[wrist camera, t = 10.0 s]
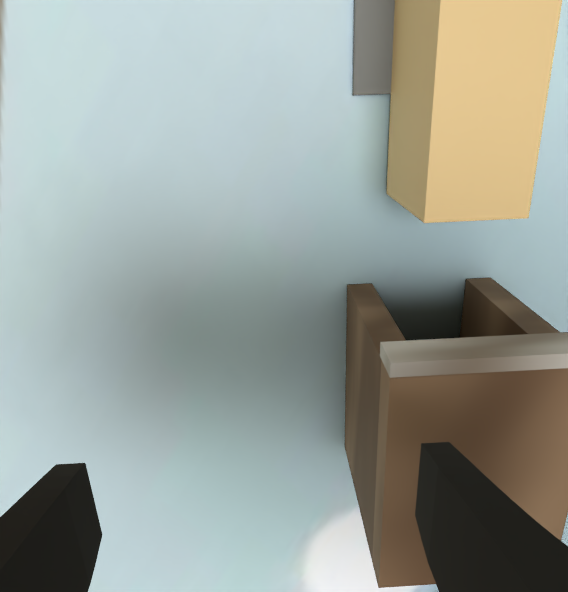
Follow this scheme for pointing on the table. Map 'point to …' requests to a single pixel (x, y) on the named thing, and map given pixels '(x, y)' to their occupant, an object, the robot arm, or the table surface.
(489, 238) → the table surface
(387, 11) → the mat
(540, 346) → the brown wooden open box
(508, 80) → the tan rectangular block
